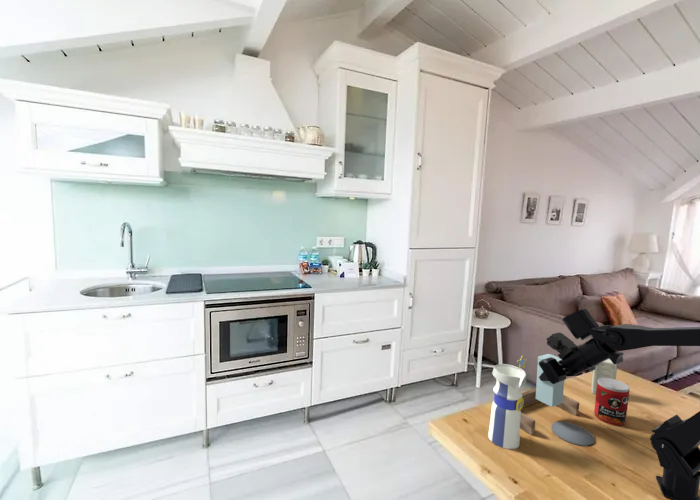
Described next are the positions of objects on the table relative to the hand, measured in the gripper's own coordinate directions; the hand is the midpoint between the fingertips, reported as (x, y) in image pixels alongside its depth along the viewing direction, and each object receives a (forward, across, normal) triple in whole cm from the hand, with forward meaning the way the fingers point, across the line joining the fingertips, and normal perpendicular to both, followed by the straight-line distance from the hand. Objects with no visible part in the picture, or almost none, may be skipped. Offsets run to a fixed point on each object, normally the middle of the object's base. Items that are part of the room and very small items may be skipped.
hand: (545, 377), depth 101 cm
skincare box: (+9, -32, +9) cm, 35 cm away
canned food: (+3, -18, +16) cm, 24 cm away
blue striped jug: (+8, +19, +10) cm, 23 cm away
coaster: (+3, 0, +15) cm, 15 cm away
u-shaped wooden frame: (+10, 0, +8) cm, 12 cm away
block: (+4, 0, +6) cm, 7 cm away
